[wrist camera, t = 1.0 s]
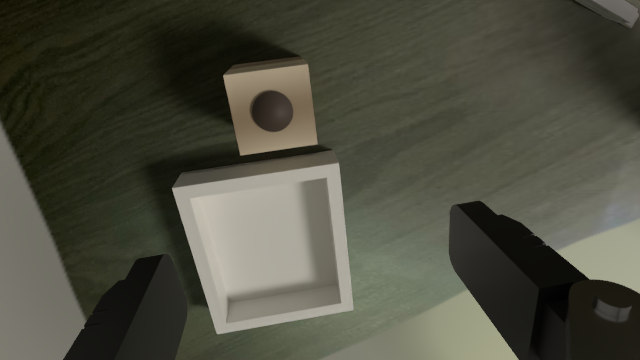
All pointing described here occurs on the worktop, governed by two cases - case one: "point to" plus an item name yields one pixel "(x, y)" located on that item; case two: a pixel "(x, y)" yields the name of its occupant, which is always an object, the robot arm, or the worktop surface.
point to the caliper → (613, 10)
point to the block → (271, 105)
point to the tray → (268, 239)
